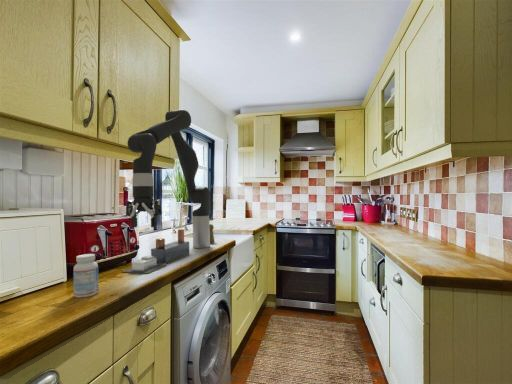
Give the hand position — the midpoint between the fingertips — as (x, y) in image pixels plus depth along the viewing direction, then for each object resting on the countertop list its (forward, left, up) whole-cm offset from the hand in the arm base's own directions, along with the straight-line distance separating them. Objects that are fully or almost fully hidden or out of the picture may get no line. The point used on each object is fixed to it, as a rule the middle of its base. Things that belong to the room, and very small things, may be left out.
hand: (144, 227), depth 105 cm
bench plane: (-14, +12, -16) cm, 25 cm away
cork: (-47, +39, -17) cm, 64 cm away
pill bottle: (+22, -17, -17) cm, 32 cm away
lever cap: (0, 0, -16) cm, 16 cm away
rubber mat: (0, 0, -16) cm, 16 cm away
